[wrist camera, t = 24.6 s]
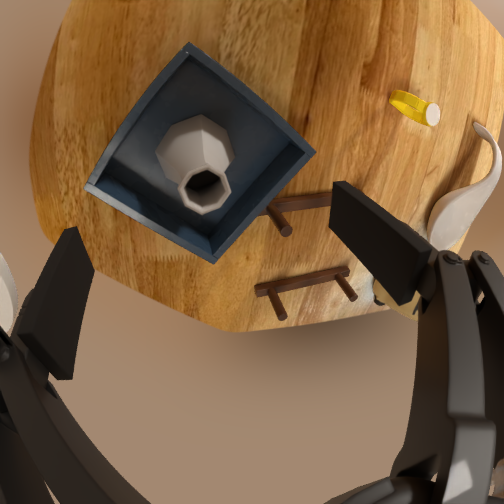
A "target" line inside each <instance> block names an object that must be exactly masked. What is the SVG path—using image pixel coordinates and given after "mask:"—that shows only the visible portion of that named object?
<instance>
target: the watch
mask: <svg viewBox="0 0 504 504" xmlns="http://www.w3.org/2000/svg"><path fill="white" fill-rule="evenodd" d="M389 103H391V104H392V105H393V106H394V107H395V108H397V109H398V110H399V111H400V112H401V113H402V114H404V115H405V116H407V117H409V118H410V119H412V120H414V121H416V122H418V123H421V124H423V125H426V126H435V125H436V124H437V123H438V121H439V119H440V110H439V107H438V105H437V104H435V103H432V102H427V103H426V102H424V101H423V100H422V99H419V98H418V97H416V96H414V95H412V94H410V93H408V92H404V91H401V90H394V91H392V94H391V96H390V98H389ZM406 104H407V105H406ZM408 105H409V106H408ZM410 106H411V107H413V108H415V109H416V110H418V111H416V110H414V109H413V108H411V107H410Z"/></svg>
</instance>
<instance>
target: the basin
mask: <svg viewBox="0 0 504 504" xmlns="http://www.w3.org/2000/svg"><path fill="white" fill-rule="evenodd" d="M200 114H202V115H204V116H205V117H207V118H208V119H210V120H211V121H213V122H215V123H216V124H218V125H219V126H221V127H222V128H224V129H225V130H227V133H228V137H229V140H230V143H231V146H232V149H233V152H234V155H235V158H234V159H233V161H232V162H231V163H230V165H229V166H228V168H227V169H226V170H225V172H224V173H225V175H226V178H227V180H228V183H229V186H230V189H231V194H230V195H229V196H228V198H227V199H226V200H225V202H224V203H223V205H222V206H221V207H220V208H218V209H216V210H213V211H210V212H208V213H205V214H203V215H201V214H199V213H197V212H195V211H193V210H192V209H190V208H188V207H186V206H185V205H184V203H183V200H182V198H181V196H180V193H179V191H178V189H177V187H178V186H179V184H177V183H175V182H173V181H172V180H170V179H168V178H166V176H165V174H164V172H163V169H162V167H161V165H160V162H159V160H158V158H157V155H156V153H155V150H156V149H157V147H158V145H159V144H160V142H161V141H162V139H163V137H164V136H165V134H166V133H167V131H168V130H169V128H170V127H171V125H173V124H176V123H179V122H181V121H184V120H186V119H189V118H192V117H194V116H197V115H200ZM315 153H316V151H315V150H314V149H313V148H312V147H311V146H310V145H309V144H308V143H307V142H306V141H305V140H304V139H303V138H302V137H301V136H300V135H299V134H298V133H297V132H296V131H295V130H294V129H293V128H292V127H291V126H290V125H289V124H288V123H287V122H286V121H285V120H284V119H283V118H282V117H281V116H280V115H279V114H278V113H277V112H275V111H274V110H273V109H272V108H271V107H270V106H269V105H268V104H267V103H266V102H265V101H263V100H262V99H261V98H260V97H259V96H258V95H257V94H255V93H254V92H253V91H252V90H251V89H250V88H248V87H247V86H246V85H245V84H244V83H243V82H241V81H240V80H239V79H238V78H236V77H235V76H234V75H233V74H232V73H230V72H229V71H228V70H227V69H225V68H224V67H223V66H221V65H220V64H219V63H218V62H216V61H215V60H214V59H212V58H211V57H210V56H208V55H207V54H206V53H204V52H203V51H202V50H200V49H199V48H197V47H196V46H195V45H193V44H192V43H190V42H188V43H187V44H186V45H185V46H184V47H183V48H182V49H181V50H180V51H179V52H178V54H177V55H176V56H175V57H174V58H173V59H172V60H171V61H170V62H169V63H168V65H167V66H166V67H165V68H164V69H163V70H162V72H161V73H160V74H159V75H158V76H157V78H156V79H155V80H154V81H153V82H152V84H151V85H150V86H149V87H148V89H147V90H146V91H145V92H144V94H143V95H142V96H141V98H140V99H139V100H138V102H137V103H136V104H135V106H134V107H133V108H132V110H131V111H130V113H129V114H128V115H127V117H126V118H125V120H124V121H123V123H122V124H121V126H120V127H119V129H118V130H117V132H116V133H115V135H114V136H113V138H112V139H111V141H110V143H109V144H108V146H107V147H106V149H105V151H104V152H103V154H102V156H101V157H100V159H99V161H98V163H97V164H96V166H95V168H94V170H93V171H92V173H91V175H90V177H89V179H88V181H87V182H86V184H85V186H84V188H83V189H84V190H86V191H88V192H89V193H91V194H92V195H94V196H96V197H97V198H99V199H101V200H102V201H104V202H106V203H107V204H109V205H111V206H112V207H114V208H116V209H117V210H119V211H121V212H122V213H124V214H126V215H128V216H129V217H131V218H133V219H134V220H136V221H138V222H139V223H141V224H143V225H145V226H146V227H148V228H150V229H152V230H153V231H155V232H157V233H158V234H160V235H162V236H164V237H165V238H167V239H169V240H171V241H173V242H174V243H176V244H178V245H180V246H181V247H183V248H185V249H187V250H188V251H190V252H192V253H194V254H196V255H197V256H199V257H201V258H203V259H205V260H206V261H208V262H210V263H212V264H215V263H216V262H217V261H218V259H219V258H220V257H221V256H222V255H223V254H224V253H225V252H226V250H227V249H228V248H229V247H230V246H231V245H232V244H233V243H234V241H235V240H236V239H237V238H238V237H239V236H240V235H241V234H242V233H243V231H244V230H245V229H246V228H247V227H248V226H249V225H250V224H251V223H252V221H253V220H254V219H255V218H256V217H257V216H258V215H259V214H260V213H261V212H262V210H263V209H264V208H265V207H266V206H267V205H268V204H269V203H270V202H271V201H272V200H273V198H274V197H275V196H276V195H277V194H278V193H279V192H280V191H281V190H282V189H283V188H284V187H285V185H286V184H287V183H288V182H289V181H290V180H291V179H292V178H293V177H294V176H295V175H296V174H297V172H298V171H299V170H300V169H301V168H302V167H303V166H304V165H305V164H306V163H307V162H308V161H309V160H310V158H312V157H313V155H314V154H315Z"/></svg>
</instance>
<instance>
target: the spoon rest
mask: <svg viewBox="0 0 504 504" xmlns="http://www.w3.org/2000/svg"><path fill="white" fill-rule="evenodd" d="M473 126H474V129H475V131H476V132H477V133H478V134H479V136H480V137H482V138H483V139H485V140H486V141H487V142H489V143H490V145H491V147H492V151H493V162H492V167H491V169H490V171H489V173H488V174H487V176H486V177H484V178H483V179H482V180H480V181H479V182H477V183H474V184H472V185H469V186H466V187H463V188H460V189H456V190H453V191H451V192H449V193H447V194H446V195H444V196H443V197H441V198H440V199H439V200H438V201H437V202H436V203H435V205H434V207H433V209H432V212H431V214H430V217H429V221H428V227H427V236H428V242H429V243H430V244H431V245H432V246H433V247H435V248H436V249H437V250H438V251H440V250H448V249H449V248H451V247H452V246H453V245H455V244H456V243H457V242H458V241H459V240H460V238H461V237H462V236H463V235H464V234H465V232H466V231H467V229H468V228H469V226H470V225H471V223H472V222H473V220H474V219H475V217H476V216H477V214H478V212H479V211H480V210H481V208H482V206H483V205H484V204H485V202H486V201H487V199H488V198H489V196H490V194H491V193H492V191H493V190H494V188H495V186H496V184H497V182H498V179H499V177H500V174H501V168H502V156H501V152H500V148H499V146H498V145H497V143H496V142H495V140H494V138H493V136H492V135H491V133H490V132H489V131H488V130H487V129H486V128H485V127H483V126H482V125H480V124H478V123H477V122H474V123H473Z"/></svg>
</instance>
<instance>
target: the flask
mask: <svg viewBox="0 0 504 504" xmlns="http://www.w3.org/2000/svg"><path fill="white" fill-rule="evenodd" d="M155 153H156V155H157V158H158V160H159V162H160V165H161V167H162V169H163V172H164V174H165V176H166V178H168V179H170V180H172V181H173V182H175V183H177V184H179V186H178V187H177V189H178V191H179V193H180V196H181V198H182V200H183V203H184V205H185V206H186V207H188V208H190V209H192V210H193V211H195V212H197V213H199V214H201V215H203V214H205V213H208V212H210V211H213V210H216V209H218V208H220V207H221V206H222V205H223V203H224V202H225V200H226V199H227V198H228V196H229V195H230V194H231V189H230V186H229V183H228V180H227V178H226V175H225V173H224V172H225V170H226V169H227V168H228V166H229V165H230V163H231V162H232V161H233V159H234V158H235V155H234V152H233V149H232V146H231V143H230V140H229V137H228V133H227V130H225V129H224V128H222V127H221V126H219V125H218V124H216V123H215V122H213V121H211V120H210V119H208V118H207V117H205V116H204V115H202V114H200V115H197V116H194V117H192V118H189V119H186V120H184V121H181V122H179V123H176V124H173V125H171V127H170V128H169V130H168V131H167V133H166V134H165V136H164V137H163V139H162V141H161V142H160V144H159V145H158V147H157V149H156V150H155Z"/></svg>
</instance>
